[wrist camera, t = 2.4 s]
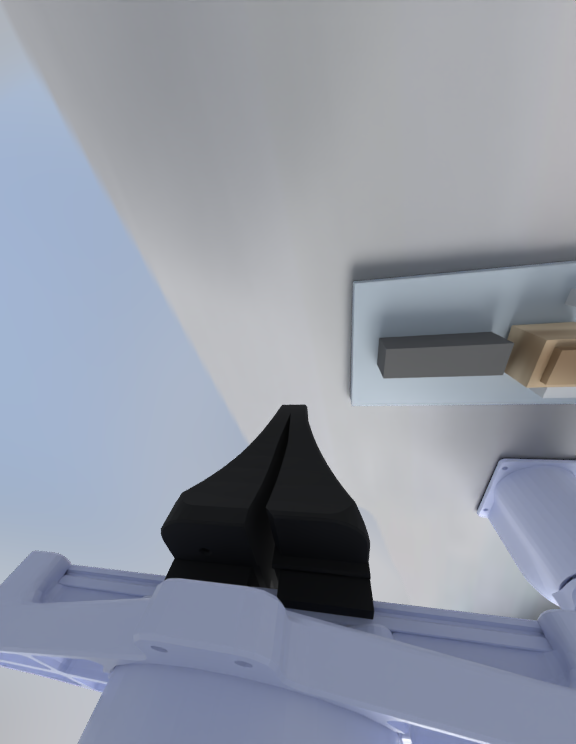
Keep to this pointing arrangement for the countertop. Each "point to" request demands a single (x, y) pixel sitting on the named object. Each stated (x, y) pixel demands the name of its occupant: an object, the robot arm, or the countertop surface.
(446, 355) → the bar
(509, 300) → the channel
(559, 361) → the slider block
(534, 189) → the countertop surface
